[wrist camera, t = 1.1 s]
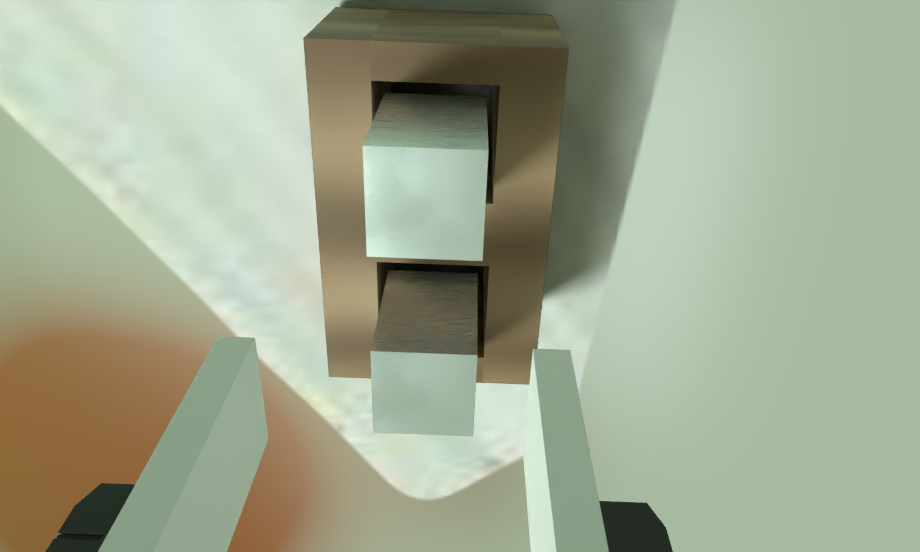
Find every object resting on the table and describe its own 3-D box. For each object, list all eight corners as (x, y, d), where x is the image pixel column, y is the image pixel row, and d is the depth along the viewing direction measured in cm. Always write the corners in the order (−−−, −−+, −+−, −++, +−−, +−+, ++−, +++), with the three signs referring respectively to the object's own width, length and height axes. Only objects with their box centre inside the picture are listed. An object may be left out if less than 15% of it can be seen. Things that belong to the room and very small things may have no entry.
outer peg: (388, 269, 32) (370, 351, 27) (477, 273, 32) (477, 355, 27) (389, 343, 34) (373, 432, 29) (473, 346, 34) (472, 436, 29)
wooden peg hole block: (335, 7, 33) (303, 38, 27) (551, 15, 33) (568, 47, 27) (351, 301, 41) (329, 376, 35) (525, 308, 41) (533, 384, 35)
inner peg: (384, 92, 28) (362, 145, 23) (486, 96, 28) (488, 150, 23) (386, 187, 30) (366, 256, 25) (481, 190, 30) (482, 261, 25)
